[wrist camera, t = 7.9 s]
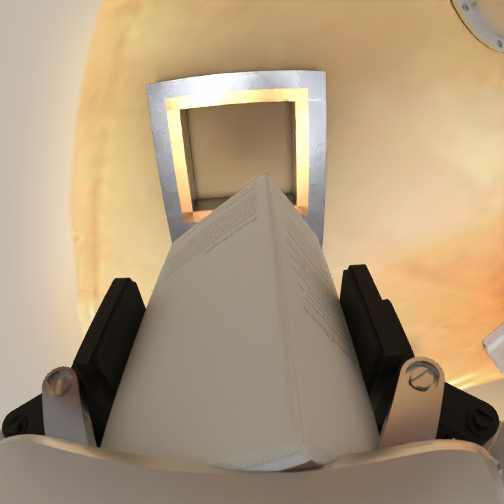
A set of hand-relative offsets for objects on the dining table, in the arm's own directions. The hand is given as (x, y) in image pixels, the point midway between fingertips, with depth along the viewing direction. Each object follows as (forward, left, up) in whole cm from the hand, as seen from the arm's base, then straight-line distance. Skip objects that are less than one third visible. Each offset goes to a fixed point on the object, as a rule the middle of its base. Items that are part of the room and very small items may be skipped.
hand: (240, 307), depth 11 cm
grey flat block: (+7, 0, -19) cm, 21 cm away
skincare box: (0, 0, -5) cm, 5 cm away
